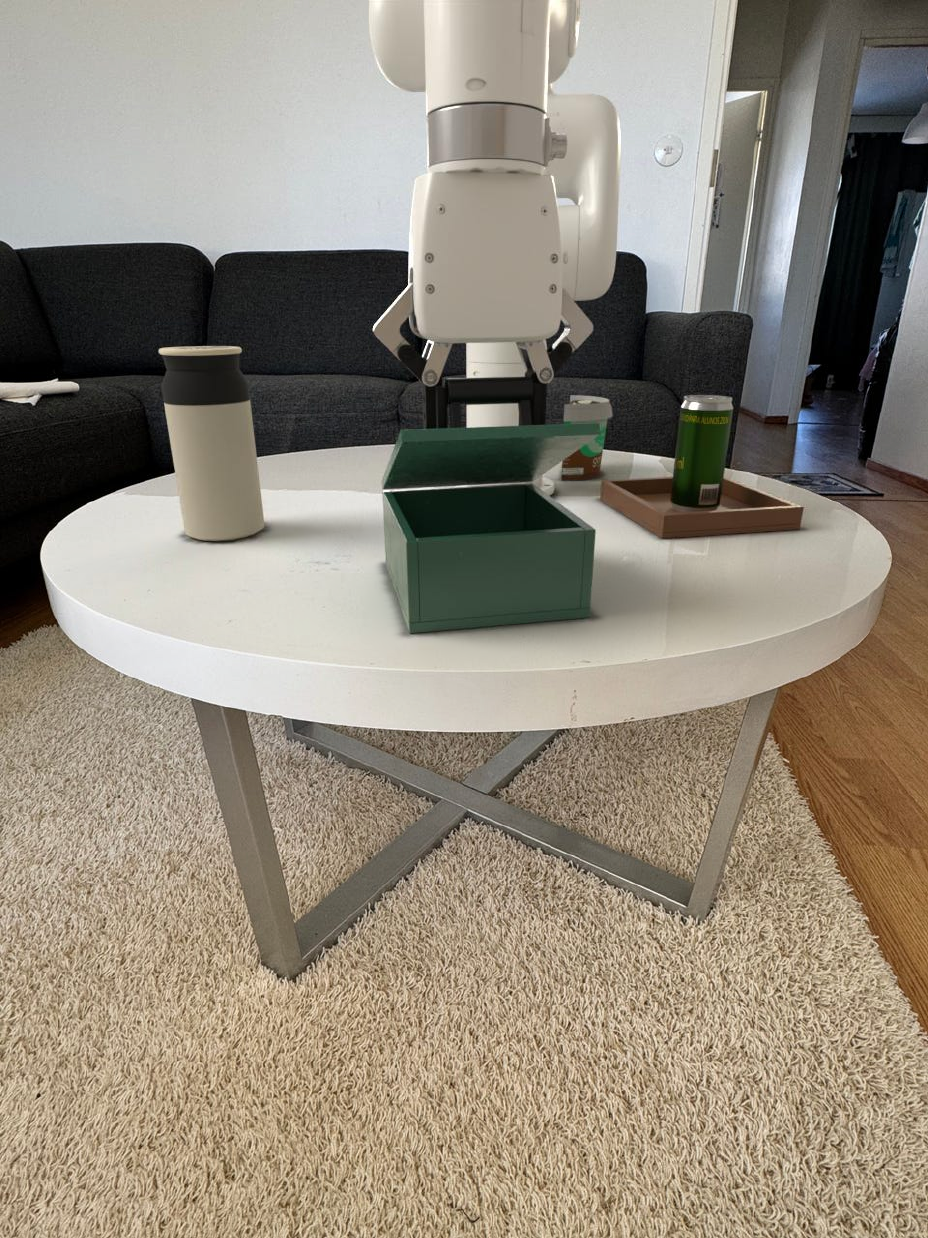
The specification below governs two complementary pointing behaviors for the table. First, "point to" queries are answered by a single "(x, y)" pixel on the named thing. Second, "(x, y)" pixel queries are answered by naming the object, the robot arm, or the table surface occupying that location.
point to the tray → (734, 515)
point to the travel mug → (212, 442)
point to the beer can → (701, 452)
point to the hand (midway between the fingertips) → (484, 437)
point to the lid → (483, 442)
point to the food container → (590, 455)
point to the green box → (486, 556)
